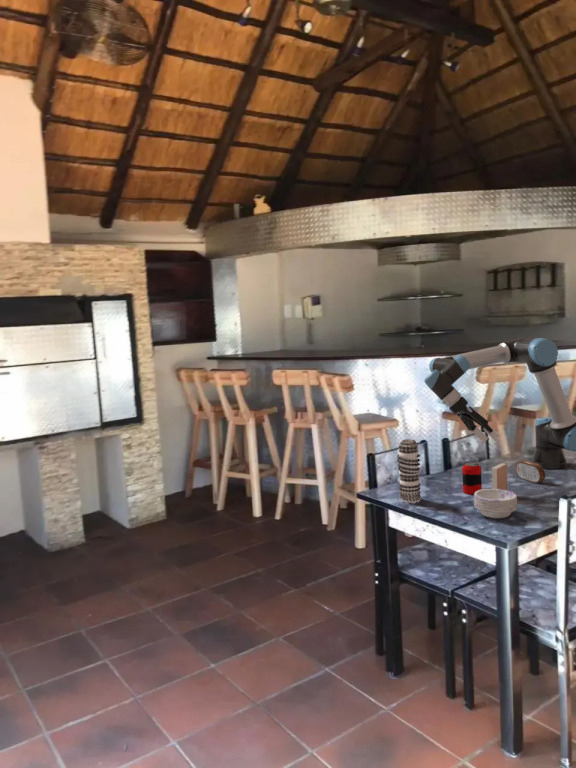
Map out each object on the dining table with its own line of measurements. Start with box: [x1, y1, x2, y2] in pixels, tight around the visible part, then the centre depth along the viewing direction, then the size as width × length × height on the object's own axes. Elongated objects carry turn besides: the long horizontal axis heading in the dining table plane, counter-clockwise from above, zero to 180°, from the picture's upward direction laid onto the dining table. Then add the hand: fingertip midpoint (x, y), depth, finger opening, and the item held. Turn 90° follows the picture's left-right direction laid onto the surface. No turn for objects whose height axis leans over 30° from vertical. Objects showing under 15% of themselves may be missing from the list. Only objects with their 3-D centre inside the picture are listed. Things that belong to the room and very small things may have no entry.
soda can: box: [461, 462, 483, 496], centre depth 255 cm, size 8×8×12 cm
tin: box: [515, 459, 546, 484], centre depth 266 cm, size 15×3×8 cm, turn 22°
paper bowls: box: [473, 488, 518, 519], centre depth 227 cm, size 15×15×8 cm
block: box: [491, 462, 508, 491], centre depth 246 cm, size 2×9×13 cm, turn 136°
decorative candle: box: [396, 438, 422, 504], centre depth 248 cm, size 9×9×25 cm
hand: (491, 439), depth 252 cm, fingers open, 13 cm apart
